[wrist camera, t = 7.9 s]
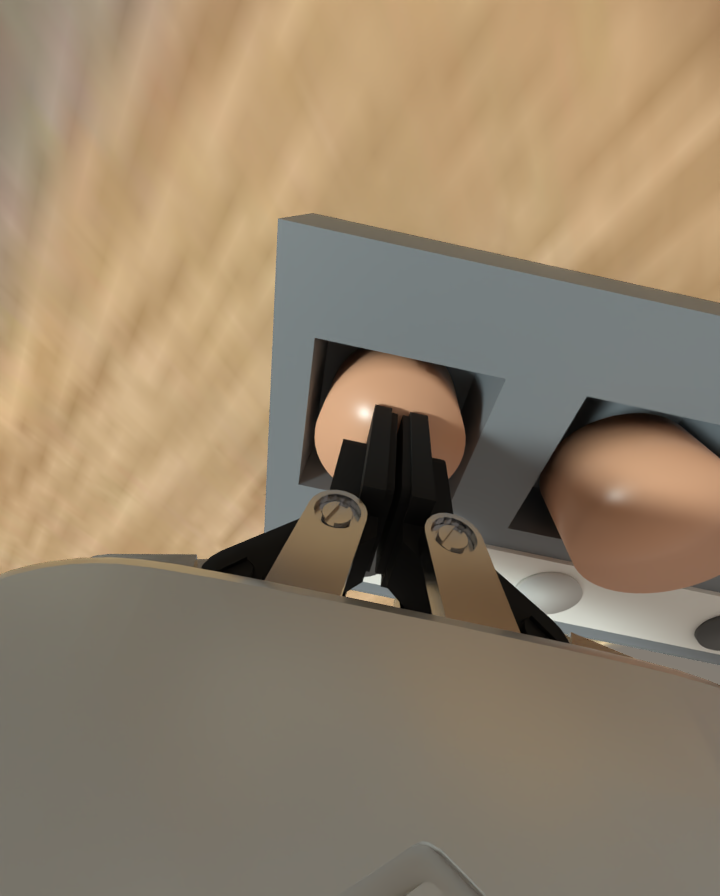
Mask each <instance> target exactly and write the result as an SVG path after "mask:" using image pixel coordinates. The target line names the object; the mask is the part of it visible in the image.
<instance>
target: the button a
mask: <svg viewBox="0 0 720 896" xmlns="http://www.w3.org/2000/svg"><path fill="white" fill-rule="evenodd" d="M375 404H376V405H380V406H385V407H390V408H392V413H396V414H398V426H397V432H398V429H399V425H400V422H401V419H402V416H403V415H406V416H409V414H410V412H413V413H418V414H422V415H427V416H428V421H429V431H430V442H431V452H432V458H437V459H441V460H444V461H445V462H446V467H447V474H448V479H449V478H450V477H451V476H452V475H453V473H454V472H455V471H456V469H457V468H458V466H459V464H460V462H461V460H462V457H463V454H464V450H465V440H466V435H465V429H464V424H463V420H462V416H461V412H460V408H459V404H458V400H457V396H456V392H455V388H454V385H453V381H452V378H451V376H450V374H449V372H448V370H447V368H446V367H445V366H444V365H439V364H434V363H430V362H425V361H420V360H416V359H411V358H406V357H402V356H397V355H393V354H388V353H383V352H379V351H374V350H369V349H365V348H360V349H358V350H357V351H355V352H354V353H353V354H351V355H350V356H349V357H348V358H347V359H346V360H345V361H344V362H343V363H342V365H341V366H340V367H339V369H338V371H337V373H336V375H335V377H334V379H333V382H332V384H331V387H330V389H329V392H328V394H327V397H326V399H325V402H324V404H323V407H322V409H321V412H320V414H319V417H318V419H317V422H316V427H315V446H316V450H317V454H318V456H319V459H320V461H321V463H322V464H323V466H324V468H325V469H326V470H327V472H328V473H329V474H330V475H331V476H332V477H333V475H334V472H335V468H336V464H337V460H338V457H339V453H340V449H341V446H342V442H343V439H347V440H352V441H357V442H361V443H366V442H367V438H368V434H369V429H370V425H371V421H372V416H373V412H374V408H375Z"/></svg>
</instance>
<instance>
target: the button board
mask: <svg viewBox="0 0 720 896" xmlns="http://www.w3.org/2000/svg"><path fill="white" fill-rule="evenodd" d="M360 348H365V349H369V350H374V351H379V352H383V353H388V354H393V355H397V356H402V357H406V358H411V359H416V360H420V361H425V362H430V363H434V364H439V365H444V366H445V367H446V368H447V370H448V372H449V374H450V376H451V378H452V381H453V385H454V388H455V392H456V396H457V400H458V404H459V408H460V412H461V416H462V420H463V424H464V429H465V435H466V440H465V450H464V454H463V457H462V460H461V462H460V464H459V466H458V468H457V469H456V471H455V472H454V473H453V475H452V476H451V477H450V478H449V479H448V481H449V487H450V494H451V501H452V508H453V514H455V515H458V516H460V517H462V518H464V519H466V520H467V521H469V522H470V523H472V524H473V525H474V526H475V527H476V528H477V529H478V531H479V532H480V534H481V536H482V538H483V540H484V543H485V545H486V548H487V550H488V553H489V555H490V558H491V560H492V563H493V565H494V568H495V570H496V571H497V572H499V573H500V574H501V575H502V576H503V577H504V578H505V579H507V580H508V581H509V582H510V583H511V584H512V585H513V586H514V587H516V588H517V589H518V590H519V591H520V592H521V593H522V594H524V595H525V596H526V597H527V598H528V599H529V600H530V601H531V602H533V603H534V604H535V605H536V606H537V607H538V608H539V609H541V610H542V611H543V612H544V613H545V614H546V615H547V616H549V617H550V618H551V619H552V620H553V621H554V622H555V623H556V624H557V625H558V626H559V627H560V628H561V630H562V631H563V633H565V634H569V633H570V632H572V633H574V634H577V635H579V636H582V637H585V638H590V639H594V640H599V641H604V642H609V643H614V644H619V645H624V646H629V647H634V648H639V649H643V650H649V651H654V652H659V653H663V654H668V655H673V656H678V657H683V658H688V659H692V660H697V661H702V662H707V663H712V664H717V665H720V575H718V576H716V577H714V578H712V579H709V580H707V581H705V582H702V583H699V584H696V585H693V586H689V587H685V588H682V589H677V590H672V591H666V592H658V593H624V592H618V591H613V590H609V589H605V588H603V587H600V586H597V585H595V584H593V583H591V582H589V581H588V580H587V579H585V578H584V577H583V576H582V575H581V574H580V573H579V572H578V571H577V570H576V568H575V567H574V565H573V563H572V560H571V558H570V556H569V554H568V552H567V549H566V547H565V545H564V543H563V541H562V539H561V536H560V534H559V532H558V530H557V528H556V525H555V523H554V521H553V519H552V517H551V514H550V512H549V510H548V508H547V506H546V503H545V501H544V499H543V497H542V494H541V491H540V487H539V479H540V474H541V472H542V470H543V469H544V467H545V465H546V464H547V462H548V460H549V459H550V457H551V455H552V454H553V452H554V450H555V449H556V447H557V445H558V444H559V443H560V442H561V441H563V440H564V439H565V438H566V437H568V436H569V435H570V434H572V433H573V432H575V431H577V430H578V429H580V428H582V427H584V426H586V425H588V424H590V423H592V422H595V421H598V420H600V419H603V418H607V417H611V416H615V415H621V414H629V413H647V414H654V415H658V416H662V417H665V418H668V419H670V420H672V421H674V422H676V423H677V424H679V425H680V426H681V427H683V428H684V429H685V430H686V431H687V432H689V433H690V434H691V435H692V436H694V437H695V438H696V439H697V440H698V441H700V442H701V443H702V444H703V445H704V446H706V447H707V448H708V449H709V450H710V451H712V452H713V453H714V454H715V455H716V456H718V457H719V458H720V303H717V302H713V301H708V300H704V299H699V298H695V297H690V296H686V295H681V294H676V293H672V292H667V291H663V290H658V289H654V288H649V287H645V286H640V285H636V284H631V283H627V282H622V281H618V280H613V279H608V278H604V277H599V276H595V275H590V274H586V273H581V272H577V271H572V270H568V269H563V268H559V267H554V266H550V265H545V264H541V263H536V262H531V261H527V260H522V259H518V258H513V257H509V256H504V255H500V254H495V253H491V252H486V251H482V250H477V249H473V248H468V247H464V246H459V245H454V244H450V243H445V242H441V241H436V240H432V239H427V238H423V237H418V236H414V235H409V234H405V233H400V232H396V231H391V230H387V229H382V228H377V227H373V226H368V225H364V224H359V223H355V222H350V221H346V220H341V219H337V218H332V217H328V216H323V215H319V214H314V213H311V214H305V215H298V216H292V217H285V218H279V219H278V233H277V256H276V279H275V301H274V324H273V347H272V369H271V392H270V415H269V437H268V460H267V483H266V505H265V528H264V533H266V532H268V531H270V530H273V529H275V528H278V527H280V526H282V525H285V524H287V523H290V522H292V521H294V520H297V519H299V518H300V517H301V515H302V513H303V512H304V510H305V508H306V506H307V505H308V503H309V501H310V500H311V499H312V498H313V497H314V496H315V495H316V494H318V493H320V492H323V491H327V490H330V486H331V483H332V479H333V477H332V476H331V475H330V474H329V473H328V472H327V470H326V469H325V468H324V466H323V464H322V463H321V461H320V459H319V456H318V454H317V450H316V446H315V427H316V422H317V419H318V417H319V414H320V412H321V409H322V407H323V404H324V402H325V399H326V397H327V394H328V392H329V389H330V387H331V384H332V382H333V379H334V377H335V375H336V373H337V371H338V369H339V367H340V366H341V365H342V363H343V362H344V361H345V360H346V359H347V358H348V357H349V356H350V355H351V354H353V353H354V352H355V351H357V350H358V349H360ZM376 553H377V550H376ZM376 553H375V557H374V560H373V563H372V566H371V569H370V572H366V573H365V576H364V579H363V582H362V583H360V584H359V585H357V586H355V587H354V588H352V589H350V590H355V591H360V592H365V593H370V594H374V595H379V596H384V597H389V598H394V599H395V596H394V595H393V594H392V593H391V592H390V591H389V589H388V588H384V587H381V574H376V573H375V564H376Z"/></svg>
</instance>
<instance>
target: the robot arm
mask: <svg viewBox="0 0 720 896" xmlns="http://www.w3.org/2000/svg"><path fill="white" fill-rule="evenodd" d="M397 426H398V414H396V413H392V408H390V407H385V406H380V405H376V404H375V408H374V412H373V416H372V421H371V425H370V429H369V434H368V438H367V442H366V443H361V442H357V441H352V440H347V439H343V442H342V446H341V449H340V453H339V457H338V460H337V464H336V468H335V472H334V475H333V479H332V483H331V486H330V490H327V491H323V492H320V493H318V494H316V495H315V496H314V497H313V498H312V499H311V500H310V501H309V503H308V505H307V506H306V508H305V510H304V512H303V513H302V515H301V517H300V518H299V519H297V520H294V521H292V522H290V523H287V524H285V525H282V526H280V527H278V528H275V529H273V530H270V531H268V532H266V533H263V534H261V535H258V536H256V537H254V538H251V539H249V540H246V541H244V542H242V543H239V544H237V545H234V546H232V547H230V548H227V549H225V550H222V551H220V552H218V553H217V554H215V555H213V556H211V557H210V558H209V559H197V555H185V554H105V555H97V556H93V557H91V558H75V559H67V560H58V561H50V562H44V563H39V564H34V565H29V566H25V567H22V568H18V569H14V570H10V571H8V572H5V573H2V574H0V896H720V685H718V684H716V683H713V682H711V681H709V680H706V679H703V678H700V677H697V676H694V675H691V674H688V673H685V672H682V671H679V670H676V669H672V668H669V667H665V666H661V665H657V664H654V663H650V662H646V661H643V660H639V659H635V658H632V657H630V656H627V655H625V654H623V653H620V652H618V651H615V650H613V649H610V648H608V647H606V646H603V645H601V644H598V643H596V642H594V641H591V640H589V639H586V638H584V637H582V636H579V635H577V634H574V633H572V632H570V633H569V634H568V635H567V636H566V635H565V634H564V633H563V631H562V630H561V628H560V627H559V626H558V625H557V624H556V623H555V622H554V621H553V620H552V619H551V618H550V617H549V616H547V615H546V614H545V613H544V612H543V611H542V610H541V609H539V608H538V607H537V606H536V605H535V604H534V603H533V602H531V601H530V600H529V599H528V598H527V597H526V596H525V595H524V594H522V593H521V592H520V591H519V590H518V589H517V588H516V587H514V586H513V585H512V584H511V583H510V582H509V581H508V580H507V579H505V578H504V577H503V576H502V575H501V574H500V573H499V572H497V571H496V570H495V568H494V565H493V563H492V560H491V558H490V555H489V553H488V550H487V548H486V545H485V543H484V540H483V538H482V536H481V534H480V532H479V531H478V529H477V528H476V527H475V526H474V525H473V524H472V523H470V522H469V521H467V520H466V519H464V518H462V517H460V516H458V515H455V514H453V508H452V501H451V494H450V487H449V481H448V474H447V467H446V462H445V461H444V460H441V459H437V458H432V452H431V442H430V431H429V421H428V416H427V415H422V414H418V413H413V412H410V414H409V416H406V415H403V416H402V419H401V422H400V425H399V429H398V432H397ZM376 550H377V553H376ZM375 553H376V564H375V573H376V574H381V587H384V588H388V589H389V591H390V592H391V593H392V594H393V595H394V596H395V600H394V607H393V606H388V605H383V604H378V603H373V602H368V601H363V600H358V599H354V598H349V597H346V594H347V591H349V590H350V589H352V588H354V587H355V586H357V585H359V584H360V583H362V582H363V579H364V576H365V573H366V572H370V569H371V566H372V563H373V560H374V557H375Z"/></svg>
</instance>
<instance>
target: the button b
mask: <svg viewBox="0 0 720 896" xmlns="http://www.w3.org/2000/svg"><path fill="white" fill-rule="evenodd" d="M539 487H540V491H541V494H542V497H543V499H544V501H545V503H546V506H547V508H548V510H549V512H550V514H551V517H552V519H553V521H554V523H555V525H556V528H557V530H558V532H559V534H560V536H561V539H562V541H563V543H564V545H565V547H566V549H567V552H568V554H569V556H570V558H571V560H572V563H573V565H574V567H575V568H576V570H577V571H578V572H579V573H580V574H581V575H582V576H583V577H584V578H585V579H587V580H588V581H589V582H591V583H593V584H595V585H597V586H600V587H603V588H605V589H609V590H613V591H618V592H624V593H658V592H666V591H672V590H677V589H682V588H685V587H689V586H693V585H696V584H699V583H702V582H705V581H707V580H709V579H712V578H714V577H716V576H718V575H720V458H719V457H718V456H716V455H715V454H714V453H713V452H712V451H710V450H709V449H708V448H707V447H706V446H704V445H703V444H702V443H701V442H700V441H698V440H697V439H696V438H695V437H694V436H692V435H691V434H690V433H689V432H687V431H686V430H685V429H684V428H683V427H681V426H680V425H679V424H677V423H676V422H674V421H672V420H670V419H668V418H665V417H662V416H658V415H654V414H647V413H629V414H621V415H615V416H611V417H607V418H603V419H600V420H598V421H595V422H592V423H590V424H588V425H586V426H584V427H582V428H580V429H578V430H577V431H575V432H573V433H572V434H570V435H569V436H568V437H566V438H565V439H564V440H563V441H561V442H560V443H559V444H558V445H557V447H556V449H555V450H554V452H553V454H552V455H551V457H550V459H549V460H548V462H547V464H546V465H545V467H544V469H543V470H542V472H541V474H540V479H539Z"/></svg>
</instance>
